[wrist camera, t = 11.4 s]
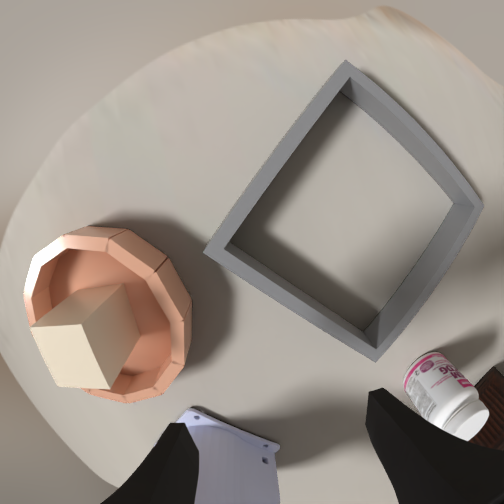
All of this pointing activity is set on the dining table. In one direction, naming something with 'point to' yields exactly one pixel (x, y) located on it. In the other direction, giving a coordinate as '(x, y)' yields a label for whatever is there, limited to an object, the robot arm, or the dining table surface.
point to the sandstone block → (88, 337)
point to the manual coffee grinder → (491, 410)
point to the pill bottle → (445, 396)
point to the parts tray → (428, 265)
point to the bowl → (139, 294)
